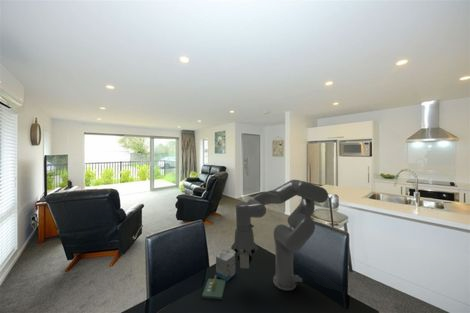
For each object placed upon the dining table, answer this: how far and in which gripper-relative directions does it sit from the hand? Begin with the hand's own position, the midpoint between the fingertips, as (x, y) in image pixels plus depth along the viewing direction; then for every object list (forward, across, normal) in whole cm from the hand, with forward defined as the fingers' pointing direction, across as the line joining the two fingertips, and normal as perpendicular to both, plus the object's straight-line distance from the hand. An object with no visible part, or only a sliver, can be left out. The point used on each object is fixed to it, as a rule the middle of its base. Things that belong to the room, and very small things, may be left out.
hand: (245, 261), depth 90 cm
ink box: (+16, +13, -12) cm, 24 cm away
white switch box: (+1, 0, 0) cm, 1 cm away
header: (+15, +17, 0) cm, 23 cm away
